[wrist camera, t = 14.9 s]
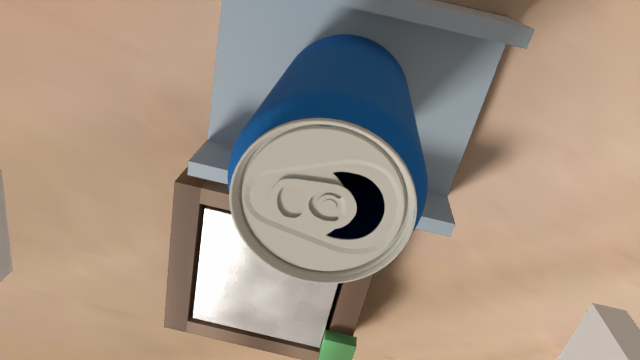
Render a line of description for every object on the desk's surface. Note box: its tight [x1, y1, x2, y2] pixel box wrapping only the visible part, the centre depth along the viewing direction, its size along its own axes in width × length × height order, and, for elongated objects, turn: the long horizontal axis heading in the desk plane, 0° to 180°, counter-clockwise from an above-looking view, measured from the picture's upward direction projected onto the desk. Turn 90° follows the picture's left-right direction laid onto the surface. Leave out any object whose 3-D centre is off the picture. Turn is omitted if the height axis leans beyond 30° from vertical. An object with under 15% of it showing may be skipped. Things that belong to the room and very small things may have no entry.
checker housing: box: [164, 167, 373, 360], centre depth 29 cm, size 12×11×4 cm
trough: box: [187, 0, 534, 237], centre depth 24 cm, size 14×11×4 cm
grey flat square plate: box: [193, 205, 338, 348], centre depth 29 cm, size 8×8×1 cm
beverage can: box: [227, 34, 428, 284], centre depth 19 cm, size 6×6×12 cm
